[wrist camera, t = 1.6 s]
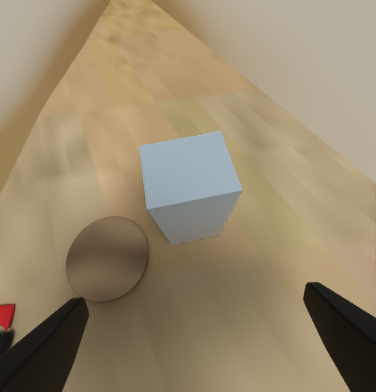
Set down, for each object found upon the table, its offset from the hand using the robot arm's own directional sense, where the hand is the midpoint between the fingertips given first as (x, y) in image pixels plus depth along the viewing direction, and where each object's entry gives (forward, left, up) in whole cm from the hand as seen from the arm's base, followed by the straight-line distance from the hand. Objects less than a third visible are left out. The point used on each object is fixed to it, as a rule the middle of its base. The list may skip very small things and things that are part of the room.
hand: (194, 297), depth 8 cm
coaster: (+5, +9, -13) cm, 17 cm away
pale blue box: (+7, -1, -13) cm, 15 cm away
